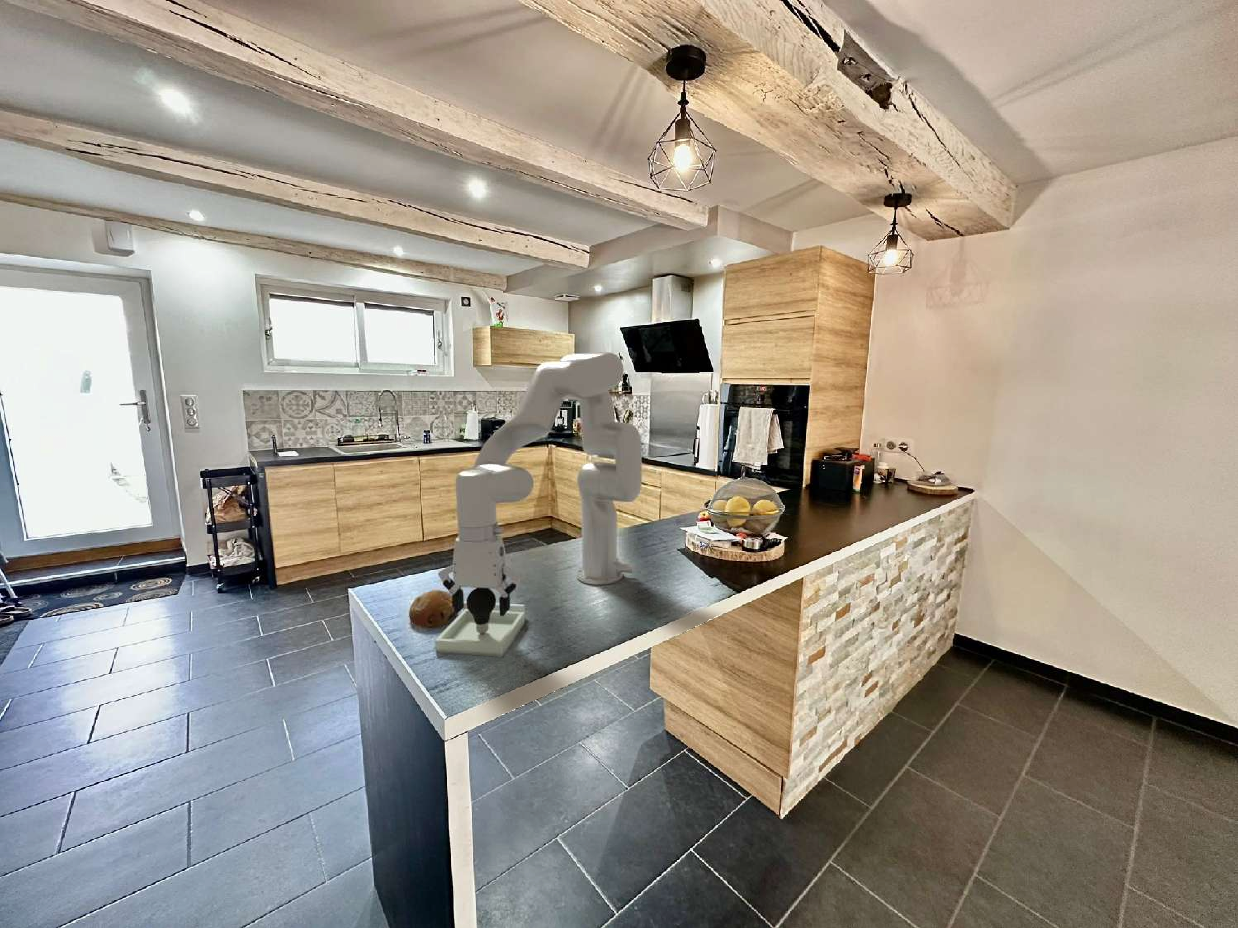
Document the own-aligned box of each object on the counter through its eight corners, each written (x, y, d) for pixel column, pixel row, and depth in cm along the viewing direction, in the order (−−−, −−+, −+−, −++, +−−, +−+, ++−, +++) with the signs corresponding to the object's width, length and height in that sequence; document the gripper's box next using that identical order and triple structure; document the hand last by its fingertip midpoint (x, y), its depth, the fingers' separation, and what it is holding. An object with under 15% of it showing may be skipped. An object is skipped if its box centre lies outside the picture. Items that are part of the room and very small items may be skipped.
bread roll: (448, 620, 115) (438, 588, 116) (469, 614, 109) (459, 580, 110) (407, 637, 108) (398, 602, 109) (428, 631, 101) (418, 594, 102)
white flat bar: (524, 617, 109) (524, 604, 108) (523, 618, 108) (523, 606, 108) (465, 613, 111) (464, 601, 110) (463, 615, 110) (463, 602, 109)
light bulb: (473, 644, 96) (471, 596, 95) (463, 631, 101) (461, 586, 99) (501, 635, 100) (500, 589, 98) (490, 623, 105) (489, 580, 103)
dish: (524, 622, 106) (524, 612, 106) (502, 656, 93) (502, 644, 93) (465, 619, 108) (465, 608, 108) (435, 652, 95) (434, 640, 94)
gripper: (525, 527, 100) (527, 606, 102) (445, 524, 102) (450, 601, 104) (513, 539, 92) (516, 623, 95) (427, 535, 94) (432, 618, 97)
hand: (481, 611), depth 100 cm, fingers open, 9 cm apart
